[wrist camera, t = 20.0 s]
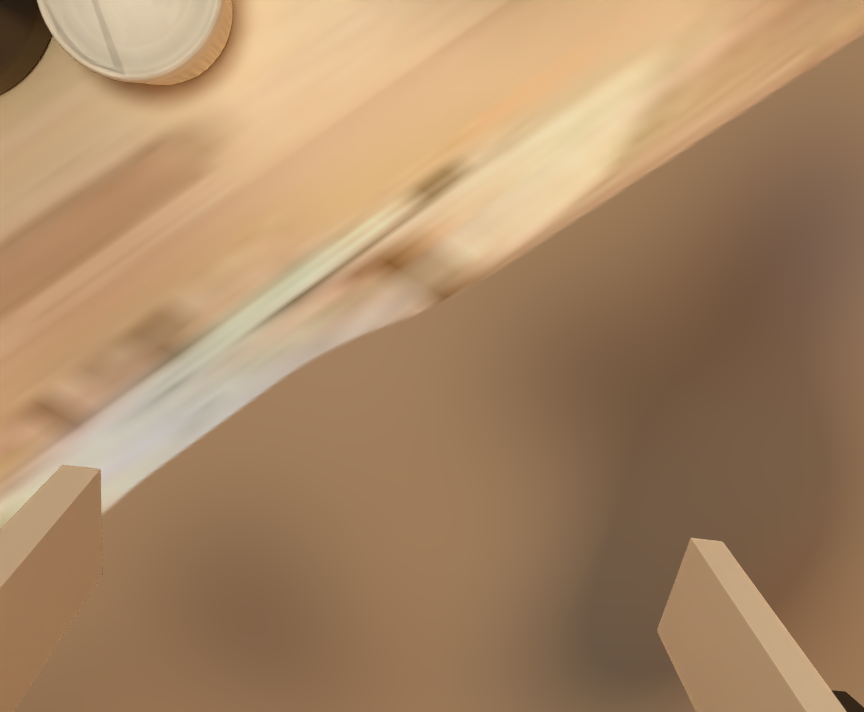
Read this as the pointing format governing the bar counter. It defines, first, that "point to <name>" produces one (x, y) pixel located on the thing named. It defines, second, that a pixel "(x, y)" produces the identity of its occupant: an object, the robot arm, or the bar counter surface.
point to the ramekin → (141, 36)
